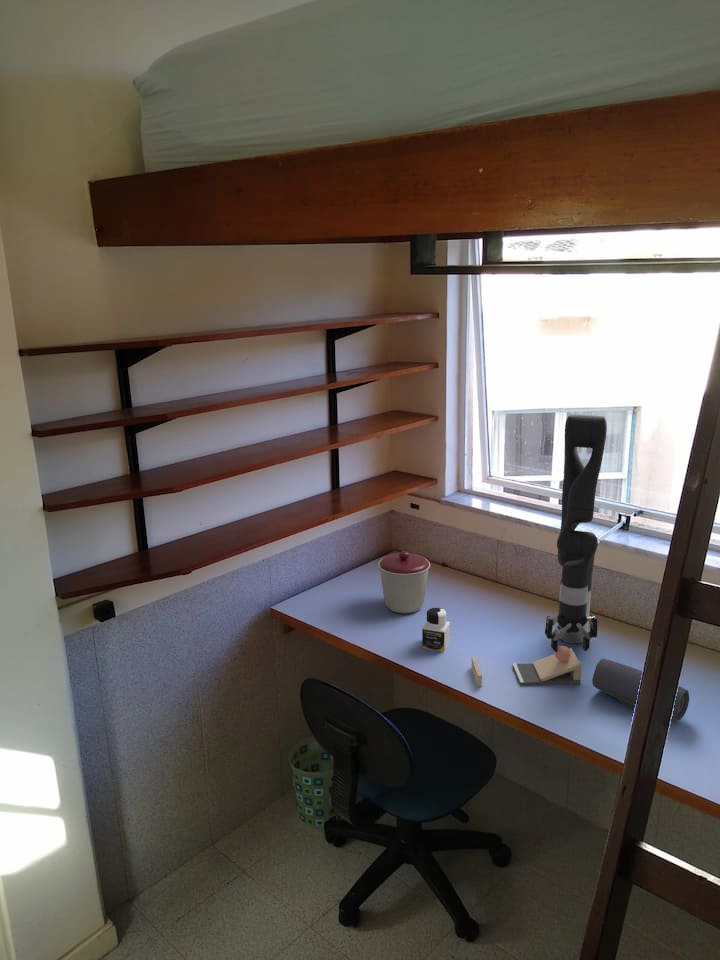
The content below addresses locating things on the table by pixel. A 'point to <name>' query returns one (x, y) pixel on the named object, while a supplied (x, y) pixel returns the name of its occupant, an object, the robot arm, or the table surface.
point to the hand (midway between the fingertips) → (569, 650)
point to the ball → (562, 653)
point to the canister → (404, 581)
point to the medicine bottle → (436, 630)
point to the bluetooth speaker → (630, 685)
